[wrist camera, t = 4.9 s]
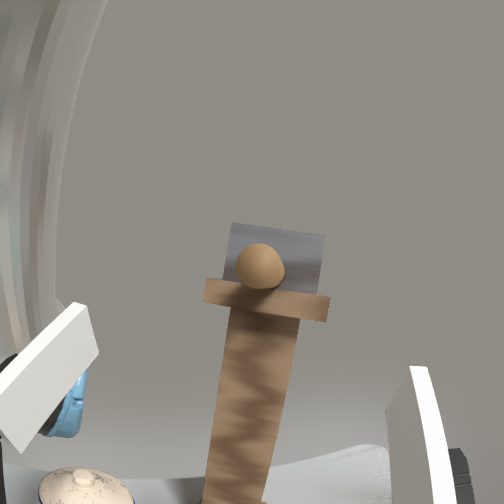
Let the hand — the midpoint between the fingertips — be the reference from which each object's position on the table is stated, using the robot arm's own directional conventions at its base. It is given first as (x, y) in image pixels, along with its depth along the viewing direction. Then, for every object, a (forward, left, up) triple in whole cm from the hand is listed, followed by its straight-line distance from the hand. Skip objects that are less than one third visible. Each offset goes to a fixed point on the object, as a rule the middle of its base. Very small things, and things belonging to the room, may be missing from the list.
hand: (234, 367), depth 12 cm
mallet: (0, +13, +3) cm, 13 cm away
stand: (0, +19, -27) cm, 33 cm away
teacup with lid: (-11, +6, -27) cm, 30 cm away
